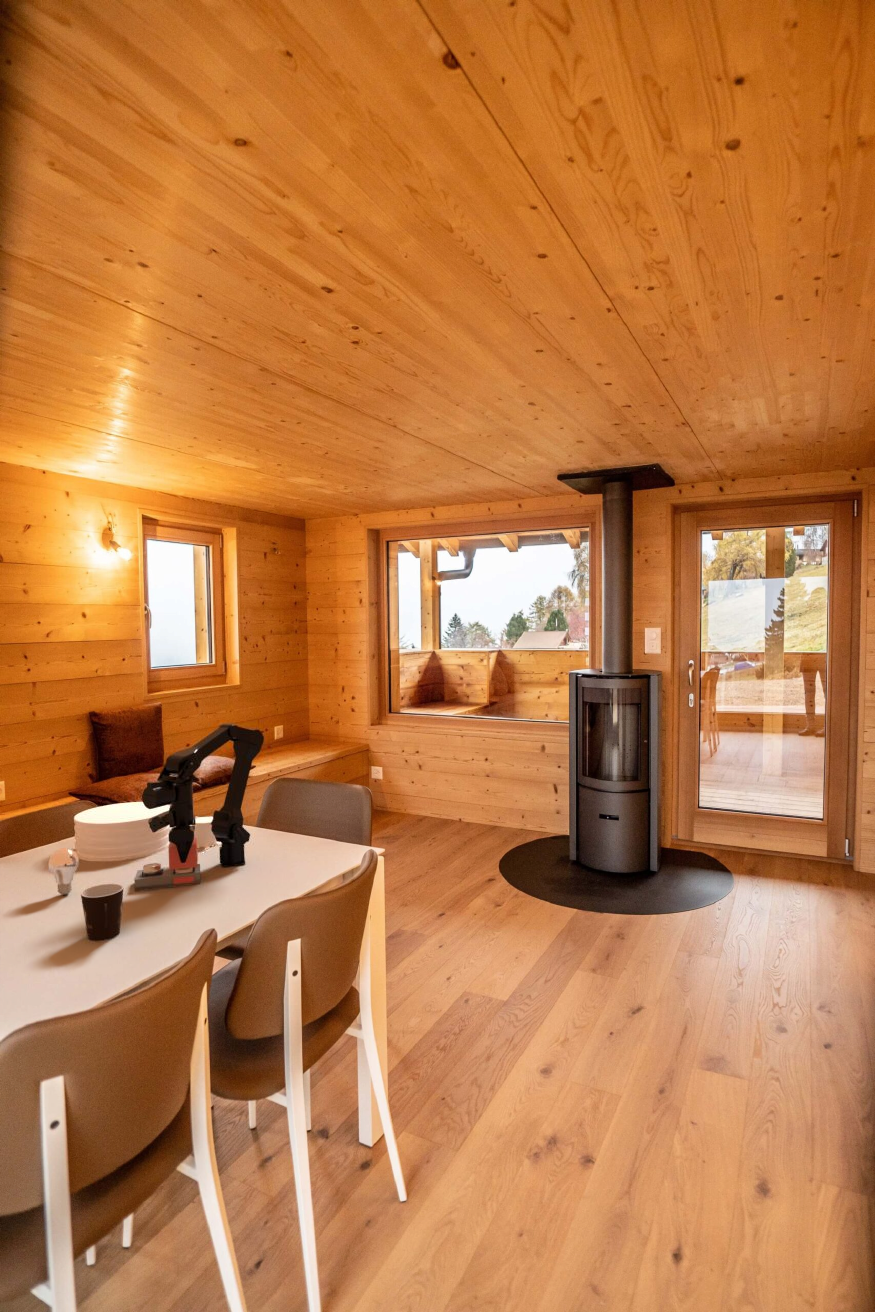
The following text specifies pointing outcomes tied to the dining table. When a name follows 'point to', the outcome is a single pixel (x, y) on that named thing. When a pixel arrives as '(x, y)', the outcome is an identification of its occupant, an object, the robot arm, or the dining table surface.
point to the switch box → (167, 879)
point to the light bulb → (64, 868)
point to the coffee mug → (102, 911)
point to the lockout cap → (175, 859)
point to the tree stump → (204, 832)
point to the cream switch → (183, 870)
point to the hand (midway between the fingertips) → (183, 858)
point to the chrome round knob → (151, 869)
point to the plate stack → (119, 832)
